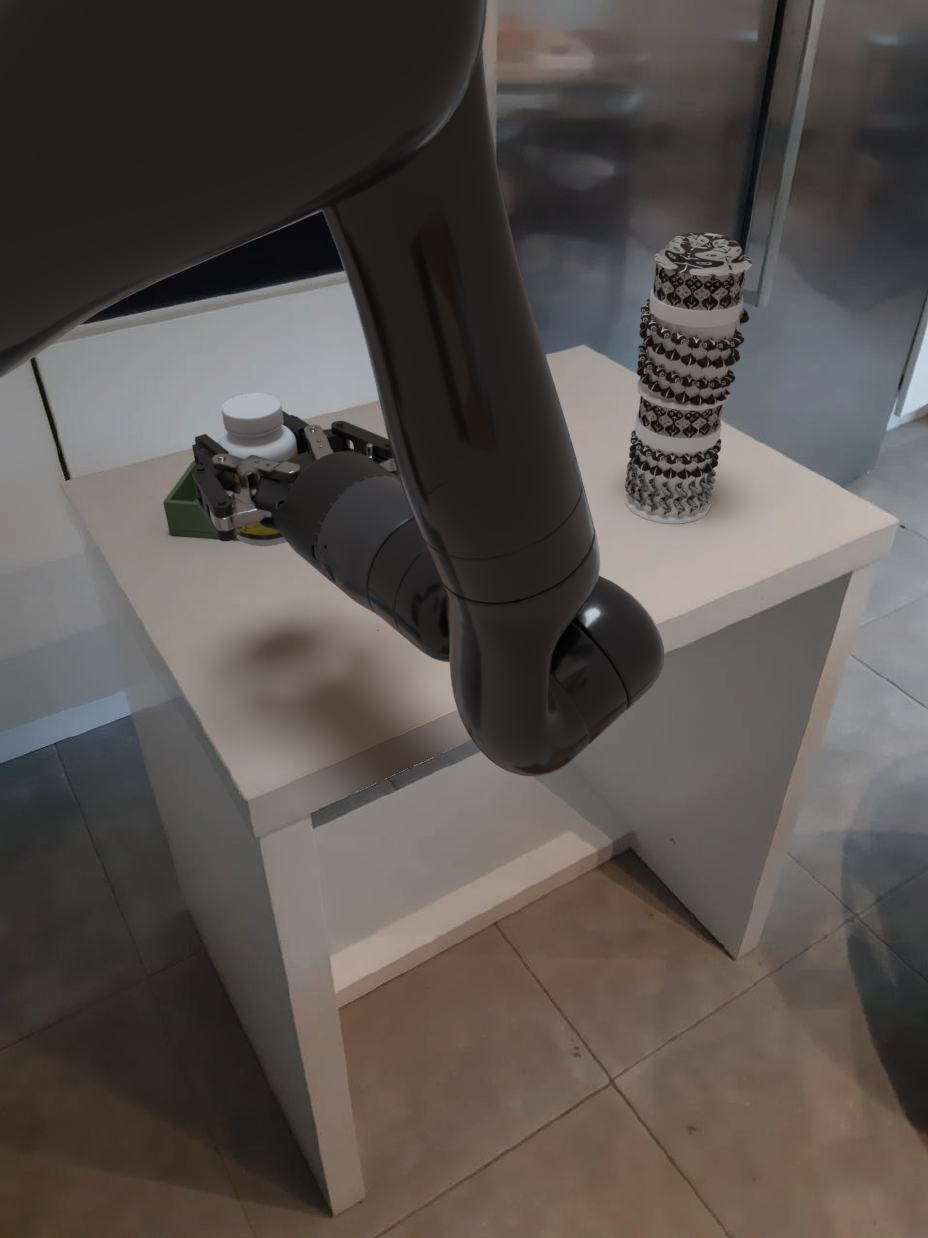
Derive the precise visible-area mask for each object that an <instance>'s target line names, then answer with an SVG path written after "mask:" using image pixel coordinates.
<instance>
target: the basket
mask: <svg viewBox="0 0 928 1238" xmlns="http://www.w3.org/2000/svg"><path fill="white" fill-rule="evenodd" d="M195 466H196V464H195V460H192V462H191V463H190V464H189V466H188V467H187V469H186V470H185V471H184V473H183V474H182V476H181V477H180V478H179V480H178V481H177V482H176V484H175V485H174V486H173V487H172V489H171V491H170V492H169V493H168V494H167V496H166V497H165V499H164V500H163V502H162V503H163V508H164V513H165V519H166V522H167V527H168V532H169V535H170V536H176V537H189V538H206V539H217V540H219V539H218V538H217V536H216V534H215V533H214V531H213V529H212V528H211V526H210V524H209V522H208V521H207V519H206V517H205V515H204V514H203V512H202V510H201V509H200V507H199V505H198V503H197V498H196V496H197V494H196V488H195V483H194V479H193V477H192V471H191V470H192V468H193V467H195ZM233 541H240V540H239V539H238V538H237V537H236V538H235V539H234V540H233Z"/></svg>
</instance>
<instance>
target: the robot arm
mask: <svg viewBox="0 0 928 1238" xmlns="http://www.w3.org/2000/svg"><path fill="white" fill-rule="evenodd" d="M487 12H488V0H0V379H2V378H3V377H5V376H6V375H8V374H10V373H12V372H13V371H15V370H17V369H18V368H20V367H21V366H23V365H24V364H26V363H28V362H29V361H30V360H32V359H34V358H35V357H37V356H38V355H39V354H40V353H42V352H43V351H45V350H47V349H48V348H49V347H50V346H52V345H53V344H55V343H56V342H58V341H60V339H62V338H63V337H65V336H66V335H67V334H69V333H70V332H71V331H73V330H74V329H75V328H77V327H79V326H80V325H82V324H83V323H84V322H86V321H87V320H89V319H91V318H92V317H94V316H95V315H96V314H98V313H100V312H101V311H104V310H106V309H107V308H109V307H110V306H112V305H114V304H116V303H118V302H120V301H122V300H124V299H125V298H127V297H129V296H132V295H133V294H136V293H137V292H139V291H142V290H144V289H146V288H148V287H150V286H152V285H154V284H156V283H158V282H160V281H163V280H165V279H167V278H170V277H171V276H174V275H176V274H178V273H180V272H183V271H186V270H187V269H190V268H192V267H194V266H197V265H199V264H202V263H204V262H207V261H209V260H210V259H213V258H215V257H217V256H220V255H222V254H225V253H227V252H230V251H232V250H233V249H236V248H238V247H241V246H244V245H246V244H248V243H249V242H252V241H254V240H257V239H260V238H262V237H264V236H267V235H269V234H272V233H274V232H276V231H278V230H281V229H284V228H286V227H288V226H291V225H293V224H295V223H298V222H300V221H302V220H304V219H307V218H309V217H311V216H313V215H316V214H318V213H322V214H323V217H324V220H325V222H326V224H327V227H328V229H329V233H330V235H331V237H332V240H333V242H334V245H335V248H336V250H337V253H338V257H339V258H340V262H341V265H342V268H343V270H344V274H345V277H346V279H347V282H348V285H349V289H350V292H351V295H352V298H353V302H354V306H355V309H356V312H357V315H358V319H359V324H360V327H361V330H362V333H363V337H364V342H365V346H366V350H367V354H368V358H369V362H370V366H371V370H372V374H373V378H374V383H375V387H376V391H377V396H378V400H379V406H380V410H381V413H382V418H383V423H384V427H385V431H386V435H387V438H386V437H384V436H382V435H379V434H376V433H374V432H372V431H370V430H367V429H365V428H362V427H359V426H358V425H355V424H352V423H350V422H348V421H345V420H336V421H333V422H332V423H330V427H331V428H327V429H326V428H325V429H323V428H322V426H321V425H319V424H309V423H308V422H306V421H304V420H303V419H302V418H300V417H298V416H296V415H294V414H289V413H287V412H285V411H284V410H282V412H283V425H284V426H286V427H287V428H289V429H290V430H291V431H292V433H293V434H294V436H295V438H296V443H297V450H298V455H297V456H295V457H293V458H291V459H289V460H285V461H280V462H276V461H273V460H269V459H266V458H262V457H259V456H255V455H250V456H248V457H246V458H245V459H243V458H239V457H236V456H232V455H229V454H228V451H227V450H226V449H224V448H223V447H222V446H220V445H219V444H218V443H219V442H217V441H215V439H213V438H212V437H211V436H209V435H208V434H206V433H204V434H200V435H196V436H195V437H194V442H195V443H194V444H192V445H191V446H192V453H193V459H194V461H195V464H196V466H195V467H193V468H192V470H191V471H192V477H193V479H194V483H195V488H196V494H197V496H196V498H197V503H198V505H199V507H200V509H201V510H202V512H203V514H204V515H205V517H206V519H207V521H208V522H209V524H210V526H211V528H212V529H213V531H214V533H215V534H216V536H217V538H218V539H217V540H218V541H221V542H232V541H235V540H234V539H235V538H236V537H237V531H236V527H241V526H245V525H249V524H253V523H257V522H259V524H260V525H262V526H263V527H266V528H269V529H273V530H276V531H279V532H280V533H281V534H282V535H283V537H284V538H285V539H286V541H287V542H286V543H287V544H288V545H289V546H290V547H291V549H292V550H293V551H294V552H295V553H296V554H297V555H298V556H300V557H301V558H302V559H303V560H305V561H306V562H307V563H308V564H309V565H310V566H311V567H313V569H315V570H316V571H318V573H320V574H321V575H322V576H323V577H325V578H326V579H327V580H328V581H329V582H331V583H332V584H333V585H334V586H335V587H337V588H338V589H339V590H340V591H342V592H343V593H344V595H346V596H348V598H350V599H351V600H352V601H354V602H355V603H356V604H358V605H360V607H362V608H365V609H366V610H368V611H370V612H372V613H374V614H375V615H376V616H378V617H379V618H380V619H382V621H384V622H385V623H386V624H387V625H388V626H390V627H391V628H392V629H393V630H395V631H396V632H397V633H398V634H399V635H401V636H402V637H403V638H405V639H406V640H407V641H408V642H409V643H410V644H411V645H412V646H414V647H415V648H416V649H418V650H419V651H420V652H421V653H423V654H424V655H426V656H428V657H429V658H431V659H433V660H436V661H438V662H443V663H449V673H450V683H451V689H452V695H453V698H454V702H455V707H456V709H457V712H458V715H459V717H460V719H461V723H462V725H463V727H464V729H465V731H466V732H467V734H468V736H469V737H470V739H471V740H472V742H473V744H474V745H475V746H476V748H478V750H479V751H480V752H481V753H482V755H484V756H485V757H486V758H487V759H488V760H489V761H491V762H492V763H493V764H494V765H495V766H496V767H497V766H498V767H499V768H501V769H502V770H504V771H506V772H509V773H511V774H515V775H518V776H523V777H532V778H533V777H535V778H536V777H543V776H548V775H551V774H553V773H556V772H558V771H559V770H561V769H562V768H564V767H566V766H567V765H568V764H570V763H571V762H572V761H573V760H575V758H577V757H578V756H579V755H580V754H581V753H582V752H583V751H584V750H585V749H587V747H588V746H589V745H590V744H591V743H593V742H594V741H595V740H596V739H597V738H598V737H599V736H600V735H602V734H603V733H604V732H605V731H607V729H608V728H609V727H611V725H612V724H614V723H615V722H616V721H617V720H618V719H619V718H621V716H622V715H623V714H625V713H626V711H628V710H629V709H630V708H631V707H632V706H633V705H634V704H635V703H637V702H638V701H639V700H640V699H641V698H642V697H644V695H646V693H648V691H650V689H651V688H652V687H653V686H654V685H655V683H656V682H657V681H658V679H659V677H660V675H661V673H662V671H663V668H664V661H665V646H664V643H663V638H662V635H661V632H660V631H659V628H658V626H657V623H656V622H655V620H654V618H653V617H652V615H651V614H650V613H649V612H648V610H647V609H646V608H645V606H644V605H643V604H642V603H641V602H640V601H639V600H638V599H637V598H635V596H633V594H631V593H630V592H629V591H627V590H626V589H624V588H623V587H622V586H619V585H618V584H617V583H615V582H614V581H612V580H610V579H607V578H606V577H604V576H601V575H600V571H601V552H600V545H599V540H598V536H597V531H596V528H595V524H594V521H593V516H592V512H591V509H590V505H589V502H588V501H589V500H588V497H587V493H586V489H585V485H584V481H583V478H582V473H581V470H580V466H579V463H578V460H577V459H578V458H577V456H576V452H575V449H574V448H575V447H574V445H573V441H572V439H571V434H570V432H569V427H568V425H567V424H568V423H567V421H566V417H565V414H564V411H563V407H562V404H561V401H560V398H559V393H558V391H557V388H556V385H555V380H554V378H553V375H552V372H551V367H550V365H549V361H548V358H547V355H546V352H545V349H544V344H543V341H542V339H541V334H540V331H539V328H538V325H537V321H536V318H535V314H534V311H533V308H532V304H531V300H530V297H529V294H528V290H527V287H526V284H525V279H524V275H523V271H522V268H521V264H520V261H519V257H518V253H517V249H516V245H515V240H514V237H513V232H512V229H511V228H512V227H511V223H510V219H509V214H508V211H507V207H506V206H507V205H506V200H505V195H504V191H503V185H502V181H501V176H500V172H499V166H498V165H499V164H498V160H497V155H496V149H495V143H494V137H493V130H492V126H491V118H490V113H489V104H488V95H487V94H488V93H487V85H486V75H485V65H484V54H483V43H484V39H485V37H484V36H485V30H486V23H487ZM351 443H352V445H353V448H351ZM234 473H235V474H237V476H238V477H239V482H236V481H235V476H234ZM235 498H236V499H235Z"/></svg>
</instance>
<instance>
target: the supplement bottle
mask: <svg viewBox="0 0 928 1238" xmlns="http://www.w3.org/2000/svg"><path fill="white" fill-rule="evenodd" d="M282 411H283V405H282V402H281V401H280V399H279V398H277V397H276V396H274V395H271V394H268V393H261V392H257V393H256V392H255V393H254V392H253V393H243V394H239V395H236V396H233V397H231V398H229V399H228V400H226V401H225V402H224V403H223V404H222V406H221V415H222V422H223V426H224V429H225V432H224V433H223V434H222V435H221V436H220V437H219V440H218V442H217V443H218V444H219V445H220V446H222V447H223V448H224V449H226V450H227V451H228V454H229V455H232V456H236V457H239V458H243V459H245V458H246V457H248V456H250V455H255V456H259V457H262V458H266V459H269V460H273V461H276V462H280V461H285V460H289V459H291V458H293V457H295V456H297V455H298V450H297V443H296V438H295V436H294V434H293V433H292V431H291V430H290V429H289V428H287V427H286V426H284V425H283V412H282ZM234 476H235V481H236V482H239V477H238V476H237V474H235V473H234ZM235 499H236V498H235ZM236 531H237V538H238V539H239V540H238V541H240V542H242V543H244V544H247V545H250V546H254V547H272V546H278V545H282V544H285V543H288V542H287V541H286V539H285V538H284V537H283V535H282V534H281V533H280V532H279V531H276V530H273V529H269V528H266V527H263V526H262V525H260V524H259V522H257V523H253V524H249V525H245V526H241V527H236Z"/></svg>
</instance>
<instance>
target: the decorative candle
mask: <svg viewBox="0 0 928 1238" xmlns="http://www.w3.org/2000/svg"><path fill="white" fill-rule="evenodd" d="M653 257H654V262H655V271H654V279H653V287H652V289H651V290H650V296H649V297H648V298H647V299H646V301H645V304H643V305H642V306H641V307H640V312H641V316H640V320H641V322H640V324H639V329H640V330H639V333H638V336H639V337H640V338H641V339H642V342H641V343H640V344H639V345H638V347H637V348H638V352H639V353H638V357H637V358H638V361H637V369H636V374H637V376H639V379H638V380H637V382H636V389H637V394H639V395H640V396H639V397H640V398H639V406H638V412H637V413H636V415H635V423H634V429H633V430H632V431H631V433H630V436H631V437H630V444H631V445H630V446H629V452H628V457H629V459H630V460H629V461H628V462H627V465H626V478H625V482H624V483H625V484H624V488H625V491H624V505H626V507H627V508H628V509H629V510H630V511H631V512H632V513H633V514H634V515H635V514H636V515H637V516H639V517H641V518H643V519H644V520H648V521H652V522H655V523H660V524H671V525H672V524H674V525H675V524H676V525H680V524H685V523H692V522H696V521H697V520H699V519H702V518H703V517H705V516H706V515H707V514H708V512H709V510H710V509H711V507H712V505H711V498H713V496H714V494H713V492H712V491H713V490H714V486H713V485H714V484H716V478H714V477H716V476H717V472H716V470H714V468H716V467H717V466H718V465H719V461H718V460H719V454H718V453H720V452H721V450H722V445H721V444H722V439H721V438H720V437H721V431H722V421H721V417H722V413H723V405H724V404H726V403H727V402H728V400H729V399H730V397H731V394H732V393H731V389H730V385H732V383H734V382H735V381H736V376H735V373H734V371H733V370H731V369H730V368H729V367H732V366H734V365H736V363H738V362H739V361H740V359H741V355H740V352H739V351H738V348H739V347H740V345H742V344H744V342H745V337H744V336H743V333H742V332H741V331H739V330H738V329H737V328H736V325H737V322H738V320H739V326H741V325H743V324H745V323H747V322H749V321H750V315H749V313H748V311H747V310H746V309H745V308H743V307H744V301H745V299H744V297H743V294H742V293H743V290H744V288H745V283H746V278H745V276H746V273H747V271H748V270H749V269H750V268H751V267H752V266H753V262H752V259H751V258H750V257H748V256H747V255H745V254H744V252H743V249H742V248H741V244H740V243H739V242H738V241H736V240H735V239H733V238H731V237H729V236H726V235H722V234H718V233H710V232H690V233H689V232H688V233H684V234H681V235H677V236H675V237H673V238H672V240H670V241H669V243H667V244H666V246H665V247H664V249H660V250H659V251H658V252H657V253H655V254H654V255H653ZM648 330H649V334H648Z"/></svg>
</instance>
